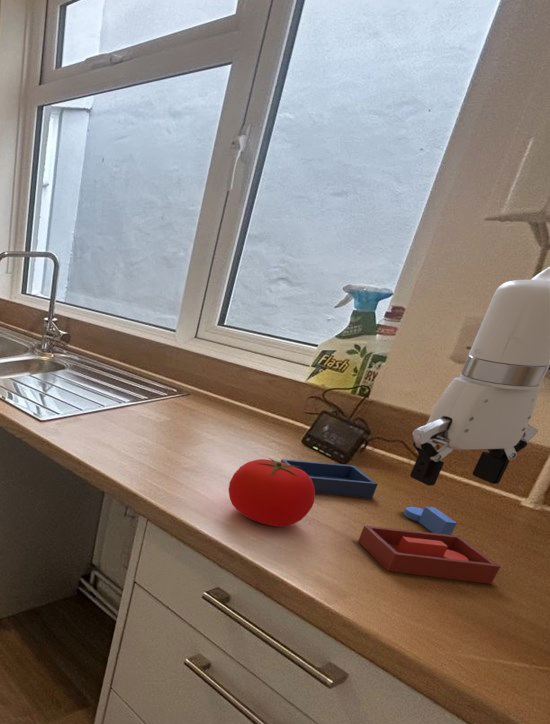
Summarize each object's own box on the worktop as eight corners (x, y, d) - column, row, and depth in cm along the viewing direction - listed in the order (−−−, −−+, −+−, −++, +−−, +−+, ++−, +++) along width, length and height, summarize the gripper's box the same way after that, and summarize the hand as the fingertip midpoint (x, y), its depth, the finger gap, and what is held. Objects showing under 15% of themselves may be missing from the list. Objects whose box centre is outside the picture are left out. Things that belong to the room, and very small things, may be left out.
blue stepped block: (456, 539, 84) (464, 523, 83) (432, 537, 84) (439, 521, 83) (420, 513, 91) (427, 498, 90) (398, 511, 92) (405, 496, 91)
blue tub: (348, 479, 103) (353, 465, 102) (372, 498, 96) (378, 483, 95) (277, 472, 106) (281, 459, 104) (295, 490, 99) (299, 476, 98)
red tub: (451, 552, 81) (459, 535, 80) (491, 584, 74) (500, 566, 73) (357, 541, 84) (364, 525, 82) (388, 571, 77) (395, 554, 76)
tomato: (312, 519, 90) (332, 464, 86) (289, 546, 83) (310, 487, 79) (238, 494, 98) (253, 442, 94) (211, 516, 91) (226, 462, 87)
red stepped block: (404, 562, 78) (412, 545, 77) (391, 549, 81) (398, 533, 80) (471, 570, 76) (480, 553, 75) (455, 557, 79) (463, 540, 78)
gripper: (531, 363, 77) (482, 467, 83) (414, 366, 77) (374, 470, 83) (597, 378, 70) (538, 491, 76) (469, 381, 70) (421, 494, 76)
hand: (453, 480), depth 80 cm, fingers open, 9 cm apart
